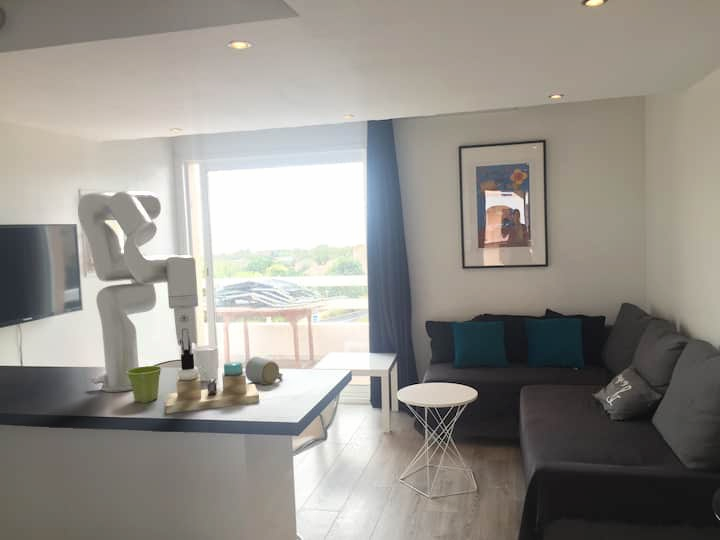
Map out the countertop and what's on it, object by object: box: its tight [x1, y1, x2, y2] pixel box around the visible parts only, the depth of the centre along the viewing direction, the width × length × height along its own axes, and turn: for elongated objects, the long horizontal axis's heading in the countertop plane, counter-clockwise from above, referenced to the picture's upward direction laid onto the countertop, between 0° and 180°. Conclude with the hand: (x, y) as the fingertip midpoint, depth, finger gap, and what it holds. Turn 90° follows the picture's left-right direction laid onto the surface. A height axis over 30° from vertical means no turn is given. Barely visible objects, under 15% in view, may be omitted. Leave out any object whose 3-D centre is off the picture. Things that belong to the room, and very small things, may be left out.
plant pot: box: [126, 365, 163, 403], centre depth 164 cm, size 9×9×9 cm
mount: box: [165, 369, 260, 414], centre depth 159 cm, size 24×12×7 cm, turn 106°
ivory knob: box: [177, 367, 198, 381], centre depth 157 cm, size 5×5×8 cm
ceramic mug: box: [244, 356, 283, 385], centre depth 178 cm, size 11×8×8 cm
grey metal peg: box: [206, 379, 218, 396], centre depth 159 cm, size 2×2×4 cm
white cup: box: [192, 344, 219, 382], centre depth 185 cm, size 8×8×10 cm
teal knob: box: [223, 361, 244, 376], centre depth 160 cm, size 5×5×8 cm
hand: (188, 368), depth 157 cm, fingers closed
